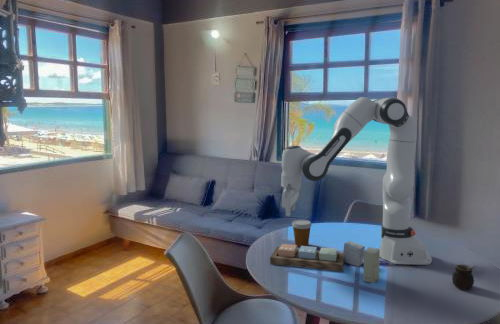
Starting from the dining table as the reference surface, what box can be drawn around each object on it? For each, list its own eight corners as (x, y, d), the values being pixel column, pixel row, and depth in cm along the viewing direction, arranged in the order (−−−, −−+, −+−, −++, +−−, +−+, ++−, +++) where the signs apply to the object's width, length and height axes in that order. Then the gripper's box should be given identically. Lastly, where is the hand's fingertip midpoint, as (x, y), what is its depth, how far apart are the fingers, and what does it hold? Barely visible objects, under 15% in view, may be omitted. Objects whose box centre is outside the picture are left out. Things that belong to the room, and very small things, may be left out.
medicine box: (362, 264, 168) (365, 246, 167) (357, 267, 165) (360, 248, 163) (346, 258, 174) (349, 240, 172) (341, 261, 170) (344, 242, 169)
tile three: (296, 251, 176) (296, 244, 175) (293, 257, 169) (293, 250, 169) (281, 250, 178) (281, 243, 178) (278, 255, 171) (278, 248, 171)
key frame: (344, 259, 173) (344, 253, 172) (342, 271, 161) (342, 264, 160) (277, 252, 182) (277, 246, 182) (270, 263, 170) (270, 257, 169)
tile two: (316, 253, 173) (316, 246, 173) (314, 259, 167) (314, 252, 166) (301, 251, 175) (301, 245, 175) (298, 257, 169) (298, 250, 168)
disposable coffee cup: (312, 248, 186) (312, 224, 184) (292, 249, 186) (292, 225, 185) (310, 241, 196) (310, 219, 194) (291, 242, 196) (291, 219, 194)
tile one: (337, 255, 170) (337, 248, 170) (335, 261, 164) (335, 254, 163) (321, 253, 173) (321, 247, 172) (319, 259, 166) (319, 252, 165)
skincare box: (373, 283, 149) (374, 253, 147) (362, 280, 152) (363, 251, 150) (379, 278, 154) (380, 248, 152) (368, 275, 157) (369, 246, 155)
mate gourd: (453, 281, 150) (455, 256, 148) (475, 286, 145) (478, 261, 144) (449, 287, 144) (451, 262, 143) (472, 294, 140) (474, 268, 138)
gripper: (293, 187, 159) (292, 220, 161) (302, 178, 178) (301, 207, 181) (278, 186, 161) (277, 218, 163) (288, 177, 180) (288, 206, 182)
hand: (290, 212), depth 172 cm, fingers open, 8 cm apart
